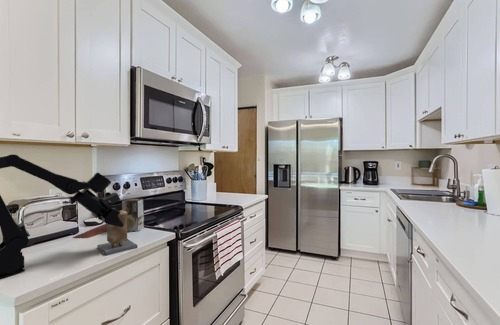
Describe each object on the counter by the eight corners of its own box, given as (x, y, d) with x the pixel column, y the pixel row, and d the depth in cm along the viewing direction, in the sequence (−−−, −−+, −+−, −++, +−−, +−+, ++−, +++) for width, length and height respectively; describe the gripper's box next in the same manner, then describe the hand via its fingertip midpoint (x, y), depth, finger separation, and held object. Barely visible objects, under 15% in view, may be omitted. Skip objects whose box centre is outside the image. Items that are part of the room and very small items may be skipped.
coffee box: (144, 228, 137) (144, 198, 137) (138, 231, 131) (138, 200, 131) (128, 227, 138) (128, 198, 138) (121, 230, 132) (121, 200, 132)
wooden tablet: (107, 224, 146) (107, 222, 146) (123, 225, 145) (123, 222, 145) (68, 239, 120) (68, 235, 120) (87, 240, 118) (87, 236, 118)
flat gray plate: (106, 255, 98) (106, 247, 98) (97, 247, 107) (97, 240, 107) (137, 247, 107) (137, 240, 107) (126, 241, 115) (126, 234, 115)
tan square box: (111, 244, 102) (111, 214, 102) (106, 240, 107) (106, 212, 107) (127, 240, 107) (127, 212, 107) (122, 237, 111) (122, 210, 111)
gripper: (114, 188, 97) (143, 213, 105) (100, 185, 110) (126, 207, 118) (91, 211, 92) (123, 235, 100) (78, 205, 105) (107, 226, 113)
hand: (120, 224), depth 108 cm, fingers closed on tan square box, 6 cm apart
